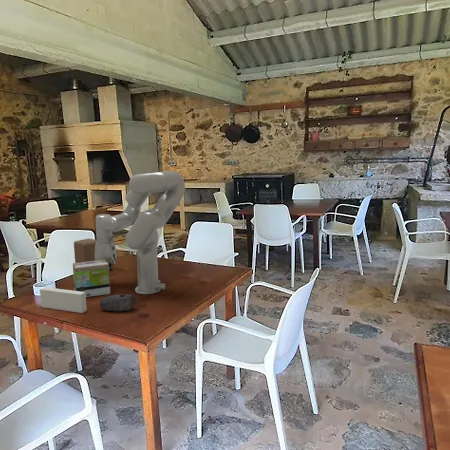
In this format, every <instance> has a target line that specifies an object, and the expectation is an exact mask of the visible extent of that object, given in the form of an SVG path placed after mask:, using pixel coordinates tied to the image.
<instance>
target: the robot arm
mask: <svg viewBox="0 0 450 450" xmlns="http://www.w3.org/2000/svg"><path fill="white" fill-rule="evenodd" d="M128 187H129V189H130V190H128V192H127V193H126V195H125V196H124V197H125V201H126V203H127V206H126V207H125V209H124V210H123V211H122V212H121V213H120V214H116V215H111V214H107V213H101V214H100V213H99V214H97V215H96V216H95V233H96V234H95V235H96V240H97V242H96V244H95V260H96V261H97V260H106V262H107V263H108V264H109V267H110V266H111V267H112V266H114V265H117V263H116V262H117V259H118V258H117V257H118V256H117V248H116V244H115V242H114V241H115V237H114V236H113V233H116V232H120V231H122V230H125V229H128V228H130V229H129V230H128V232H127V234H126V237H125V240H126V244H127V247H128V248H130V249H131V250H134V251H136V250H137V251H136V265H137V266H136V267H137V286H136V287H135V288H134V291H135V292H136V294H139V295H153V294H157V293H159V292H161V291H162V290H165V289H166V283H161V280H160V279H159V270H158V269H159V268H158V244H159V232H158V230H159V229H161V228H163V227H164V226H165V225H166V224H167V222H168V221H169V219H170V218H171V216H172V215H173V213H174V211H175V210H176V208H177V207H178V205H180V202H181V201H182V199H183V197H184V195H185V193H186V192H185V191H186V184H185V181H184V177H183V176H182V175H181V173H180V172H177V171H174V170H166V171H159V172H156V171H155V172H151V173H146V172H145V173H138V174H134V175H132V177H131V178H130V179H129V181H128ZM162 192H163V194H162V195H161V196H159V199H158V200H157V202H156V203H155V205H154V206H153V207H151V208H150V209H147V210H144V211H142V212H141V208H142V206H143V205H144V203H145V201H146V200H147V199H148V198H149V197H150V195H151V194H153V193H162ZM140 212H141V213H140ZM110 272H111V271H109V274H110ZM161 289H162V290H161ZM160 290H161V291H160Z"/></svg>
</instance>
